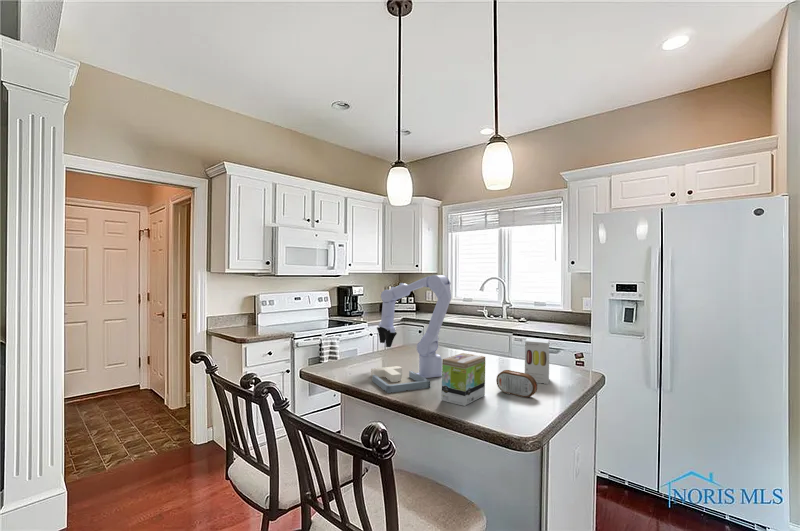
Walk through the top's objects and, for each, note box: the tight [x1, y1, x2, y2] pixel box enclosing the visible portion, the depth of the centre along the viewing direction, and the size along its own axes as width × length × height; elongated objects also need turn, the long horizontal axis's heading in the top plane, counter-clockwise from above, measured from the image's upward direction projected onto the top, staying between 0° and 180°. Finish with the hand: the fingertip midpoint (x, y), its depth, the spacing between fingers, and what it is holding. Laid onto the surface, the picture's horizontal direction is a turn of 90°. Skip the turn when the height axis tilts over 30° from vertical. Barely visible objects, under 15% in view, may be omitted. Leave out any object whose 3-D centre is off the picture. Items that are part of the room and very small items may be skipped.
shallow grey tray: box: [371, 370, 431, 394], centre depth 160 cm, size 18×17×2 cm
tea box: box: [441, 352, 486, 407], centre depth 143 cm, size 15×10×15 cm, turn 143°
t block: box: [370, 365, 403, 383], centre depth 169 cm, size 13×13×3 cm
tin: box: [496, 369, 538, 398], centre depth 147 cm, size 15×3×8 cm, turn 50°
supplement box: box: [524, 337, 550, 385], centre depth 166 cm, size 10×9×17 cm
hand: (385, 344), depth 183 cm, fingers open, 7 cm apart
